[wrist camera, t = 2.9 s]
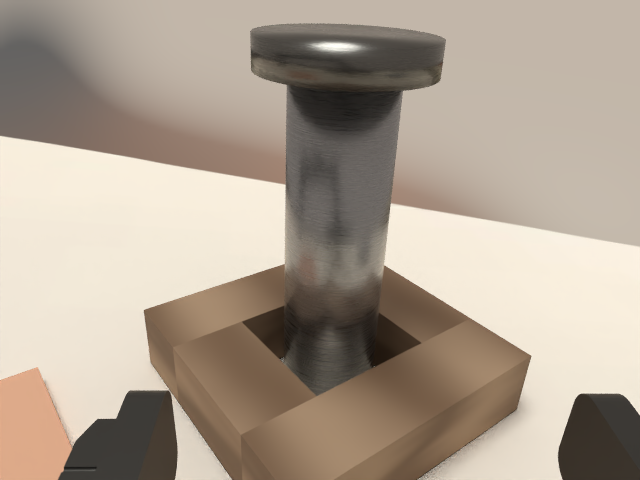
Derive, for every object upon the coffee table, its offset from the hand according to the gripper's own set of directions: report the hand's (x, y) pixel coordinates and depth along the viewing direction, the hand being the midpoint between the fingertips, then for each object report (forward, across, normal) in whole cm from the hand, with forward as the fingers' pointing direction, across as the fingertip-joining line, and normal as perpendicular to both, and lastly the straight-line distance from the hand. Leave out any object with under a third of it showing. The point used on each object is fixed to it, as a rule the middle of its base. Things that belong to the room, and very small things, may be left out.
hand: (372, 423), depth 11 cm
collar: (+11, 0, +9) cm, 14 cm away
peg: (+11, 0, +9) cm, 14 cm away
